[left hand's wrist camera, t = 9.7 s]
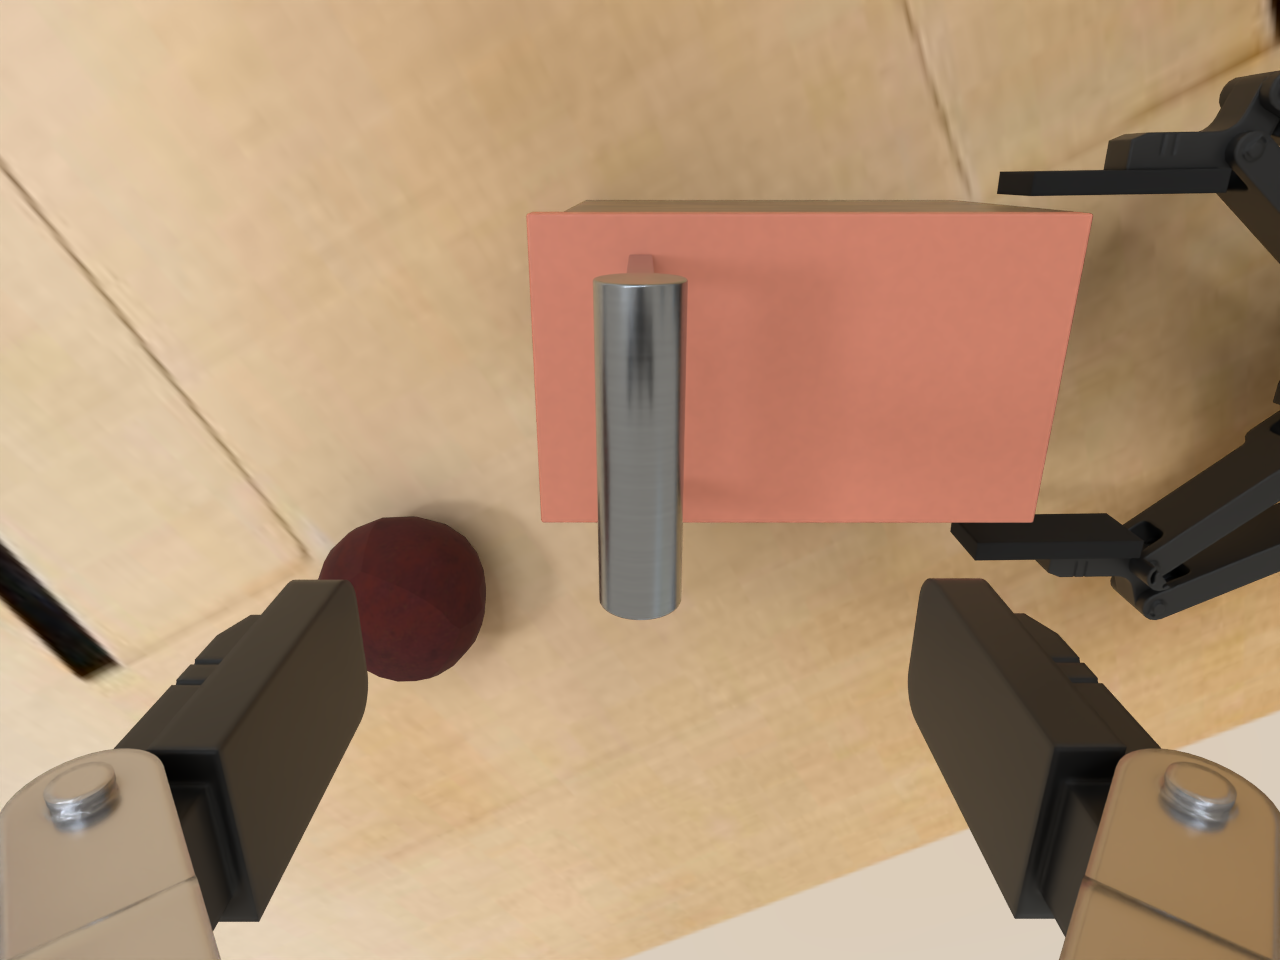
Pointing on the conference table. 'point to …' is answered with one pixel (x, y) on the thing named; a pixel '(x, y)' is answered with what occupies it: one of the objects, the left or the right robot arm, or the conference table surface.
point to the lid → (791, 372)
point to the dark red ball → (411, 594)
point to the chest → (792, 206)
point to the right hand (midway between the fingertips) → (985, 374)
